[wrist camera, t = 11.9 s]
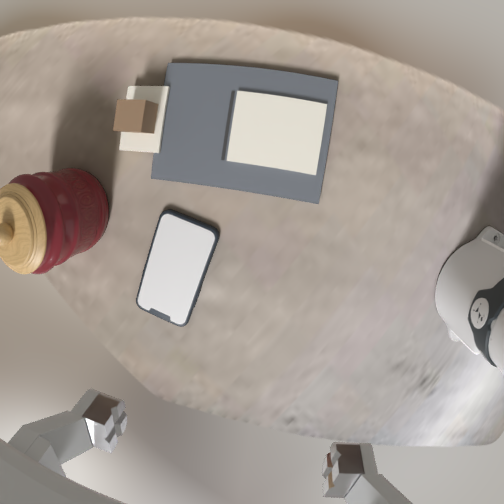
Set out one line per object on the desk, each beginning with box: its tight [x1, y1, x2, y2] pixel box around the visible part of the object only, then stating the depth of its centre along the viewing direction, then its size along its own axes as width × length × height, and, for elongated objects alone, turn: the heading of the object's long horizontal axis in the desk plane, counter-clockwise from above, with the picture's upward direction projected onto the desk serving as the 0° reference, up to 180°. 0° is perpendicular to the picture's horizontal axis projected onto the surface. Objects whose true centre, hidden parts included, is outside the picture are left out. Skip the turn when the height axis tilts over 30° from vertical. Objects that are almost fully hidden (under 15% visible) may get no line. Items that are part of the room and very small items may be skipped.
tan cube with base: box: [113, 86, 170, 153], centre depth 36 cm, size 6×9×4 cm, turn 172°
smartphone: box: [136, 209, 219, 327], centre depth 45 cm, size 9×2×16 cm
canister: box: [0, 168, 109, 274], centre depth 36 cm, size 13×13×18 cm
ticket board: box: [151, 63, 338, 204], centre depth 38 cm, size 22×16×2 cm
